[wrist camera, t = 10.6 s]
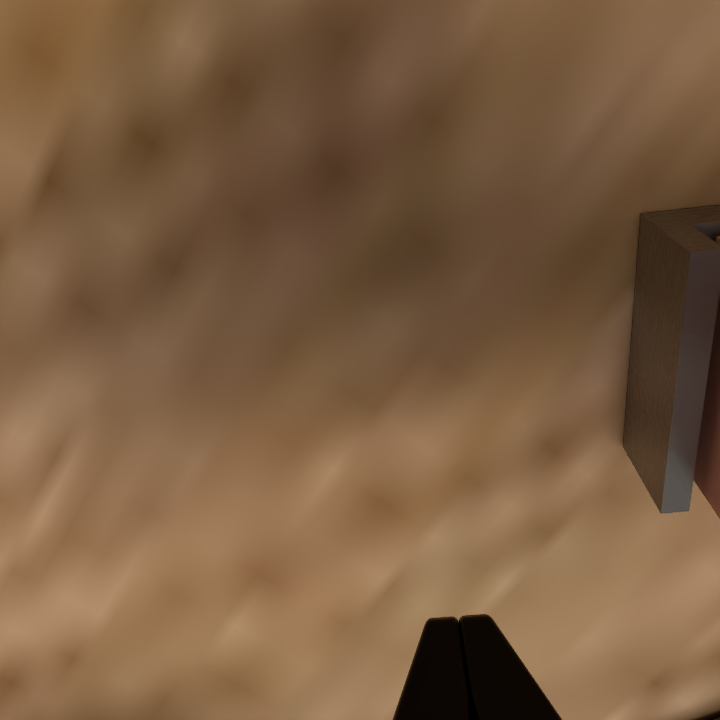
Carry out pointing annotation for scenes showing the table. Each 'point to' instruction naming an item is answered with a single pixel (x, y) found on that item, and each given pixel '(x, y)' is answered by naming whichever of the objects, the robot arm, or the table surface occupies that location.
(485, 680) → the robot arm
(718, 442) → the block
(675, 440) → the vise
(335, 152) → the table surface
